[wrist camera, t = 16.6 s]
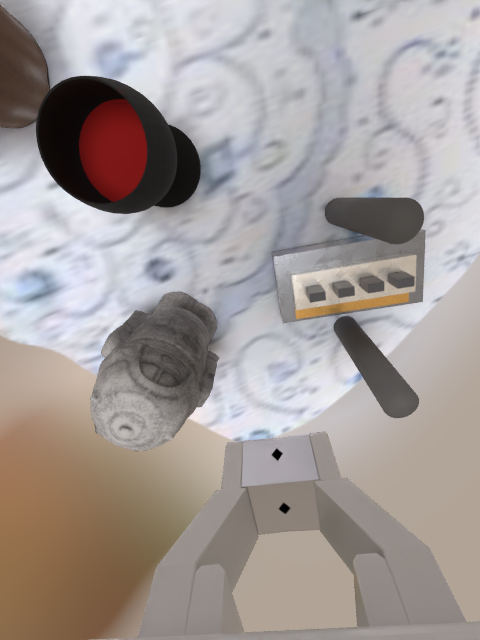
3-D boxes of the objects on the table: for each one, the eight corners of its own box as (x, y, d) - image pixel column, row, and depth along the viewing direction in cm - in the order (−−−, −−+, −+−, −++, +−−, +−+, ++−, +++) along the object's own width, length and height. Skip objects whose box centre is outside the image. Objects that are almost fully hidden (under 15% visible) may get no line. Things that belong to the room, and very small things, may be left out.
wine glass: (124, 118, 40) (14, 50, 21) (203, 129, 40) (161, 71, 21) (126, 202, 44) (33, 207, 25) (198, 212, 44) (158, 224, 25)
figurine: (206, 364, 53) (171, 493, 30) (133, 323, 51) (34, 430, 28) (235, 322, 50) (221, 430, 27) (159, 276, 48) (70, 352, 25)
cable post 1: (323, 200, 43) (376, 202, 24) (350, 195, 42) (424, 193, 24) (326, 227, 44) (378, 248, 25) (351, 222, 43) (423, 240, 25)
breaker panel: (271, 252, 46) (274, 259, 40) (410, 227, 43) (433, 231, 38) (280, 313, 49) (284, 328, 44) (409, 293, 47) (430, 306, 42)
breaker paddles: (305, 287, 41) (309, 293, 38) (404, 271, 40) (414, 276, 37) (306, 296, 41) (310, 302, 39) (403, 280, 40) (414, 286, 38)
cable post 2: (333, 318, 49) (382, 391, 31) (355, 314, 49) (419, 386, 30) (334, 337, 50) (382, 419, 32) (356, 334, 50) (418, 415, 32)
